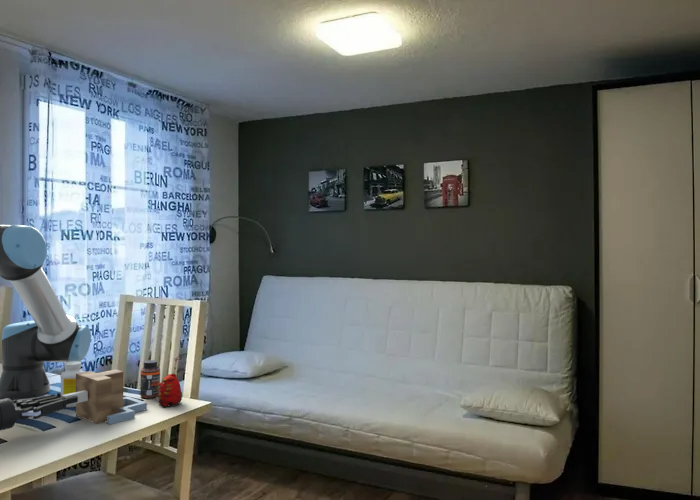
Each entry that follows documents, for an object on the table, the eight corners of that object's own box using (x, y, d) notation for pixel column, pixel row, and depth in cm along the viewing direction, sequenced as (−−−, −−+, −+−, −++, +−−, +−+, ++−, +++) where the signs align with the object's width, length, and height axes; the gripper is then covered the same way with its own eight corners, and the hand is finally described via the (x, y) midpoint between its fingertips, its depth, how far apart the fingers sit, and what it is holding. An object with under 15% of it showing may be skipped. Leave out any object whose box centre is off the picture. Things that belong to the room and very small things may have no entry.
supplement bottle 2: (153, 399, 180) (153, 363, 179) (136, 398, 181) (136, 362, 180) (163, 394, 185) (163, 359, 185) (146, 393, 187) (146, 358, 186)
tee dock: (76, 411, 167) (76, 404, 167) (120, 400, 178) (120, 394, 178) (109, 424, 156) (109, 417, 156) (154, 411, 167) (154, 405, 167)
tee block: (75, 414, 164) (75, 373, 163) (108, 406, 172) (108, 367, 171) (97, 423, 156) (97, 380, 156) (130, 415, 164) (131, 373, 164)
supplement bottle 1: (88, 404, 173) (88, 362, 173) (65, 409, 169) (65, 366, 168) (79, 400, 178) (79, 359, 178) (57, 404, 173) (57, 362, 173)
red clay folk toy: (155, 402, 177) (156, 354, 176) (178, 399, 180) (179, 352, 180) (160, 409, 170) (160, 359, 170) (184, 406, 174) (184, 357, 173)
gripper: (-18, 425, 145) (74, 404, 163) (4, 437, 137) (98, 413, 156) (-18, 396, 144) (74, 378, 163) (4, 406, 137) (98, 386, 155)
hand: (86, 395), depth 159 cm, fingers closed
